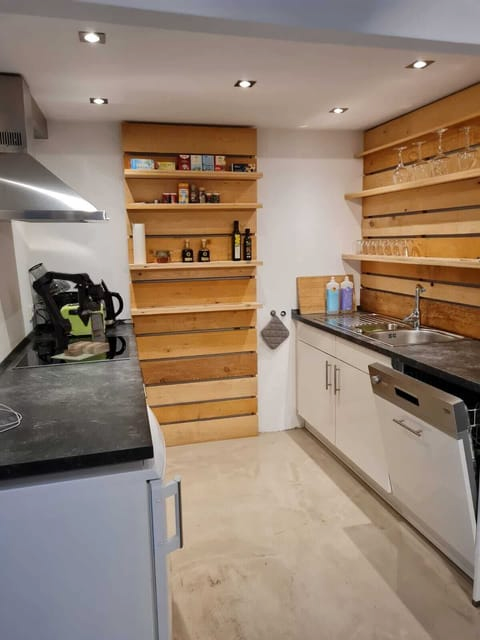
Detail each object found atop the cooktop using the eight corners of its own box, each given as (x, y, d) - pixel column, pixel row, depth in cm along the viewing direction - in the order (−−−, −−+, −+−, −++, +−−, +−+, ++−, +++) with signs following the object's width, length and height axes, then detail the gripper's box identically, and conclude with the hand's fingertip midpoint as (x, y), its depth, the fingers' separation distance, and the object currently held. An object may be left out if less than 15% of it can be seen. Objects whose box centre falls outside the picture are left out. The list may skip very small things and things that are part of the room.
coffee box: (105, 341, 275) (103, 313, 273) (94, 342, 273) (91, 314, 270) (102, 338, 284) (100, 311, 281) (91, 340, 281) (89, 312, 279)
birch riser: (68, 352, 249) (68, 345, 248) (82, 348, 258) (81, 341, 257) (96, 354, 242) (95, 347, 241) (109, 350, 251) (108, 343, 250)
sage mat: (51, 357, 238) (51, 357, 238) (67, 353, 248) (67, 352, 248) (79, 360, 231) (79, 359, 231) (95, 355, 241) (94, 354, 241)
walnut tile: (71, 348, 244) (71, 353, 244) (64, 351, 239) (64, 355, 239) (82, 349, 241) (82, 354, 241) (75, 351, 236) (75, 356, 237)
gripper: (83, 299, 242) (85, 330, 244) (107, 295, 258) (109, 324, 261) (66, 299, 246) (69, 329, 248) (91, 295, 263) (93, 323, 265)
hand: (86, 326), depth 256 cm, fingers closed
